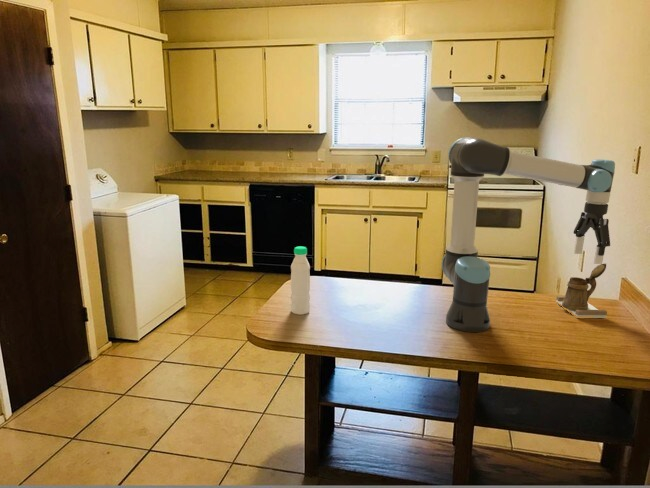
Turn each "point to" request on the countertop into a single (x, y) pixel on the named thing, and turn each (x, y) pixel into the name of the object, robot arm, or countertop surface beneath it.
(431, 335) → the countertop surface
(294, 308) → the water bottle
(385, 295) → the countertop surface
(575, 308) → the wooden mug
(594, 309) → the ledge board
